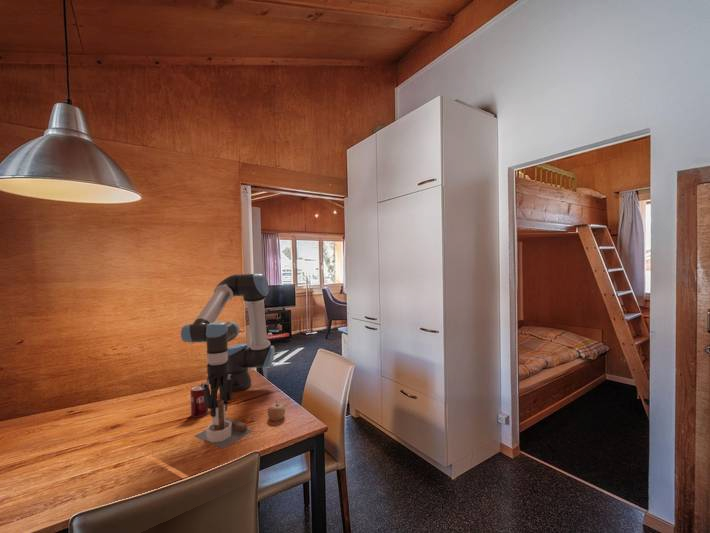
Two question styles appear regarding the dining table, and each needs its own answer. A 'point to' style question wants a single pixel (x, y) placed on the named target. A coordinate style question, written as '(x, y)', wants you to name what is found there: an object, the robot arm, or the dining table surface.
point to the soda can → (198, 402)
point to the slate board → (226, 442)
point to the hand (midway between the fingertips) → (219, 422)
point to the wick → (237, 425)
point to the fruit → (276, 412)
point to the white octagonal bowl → (219, 432)
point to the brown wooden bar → (220, 415)
